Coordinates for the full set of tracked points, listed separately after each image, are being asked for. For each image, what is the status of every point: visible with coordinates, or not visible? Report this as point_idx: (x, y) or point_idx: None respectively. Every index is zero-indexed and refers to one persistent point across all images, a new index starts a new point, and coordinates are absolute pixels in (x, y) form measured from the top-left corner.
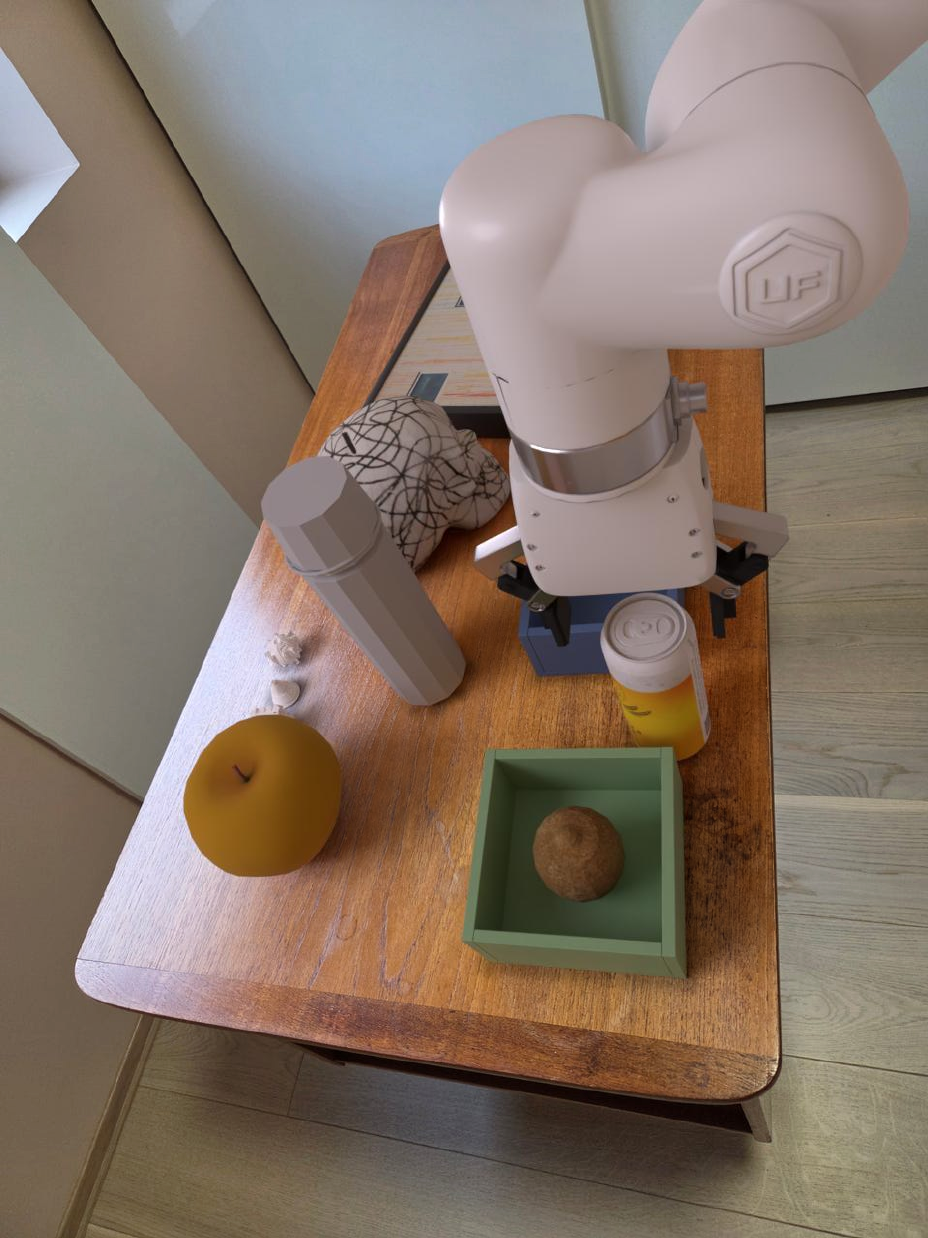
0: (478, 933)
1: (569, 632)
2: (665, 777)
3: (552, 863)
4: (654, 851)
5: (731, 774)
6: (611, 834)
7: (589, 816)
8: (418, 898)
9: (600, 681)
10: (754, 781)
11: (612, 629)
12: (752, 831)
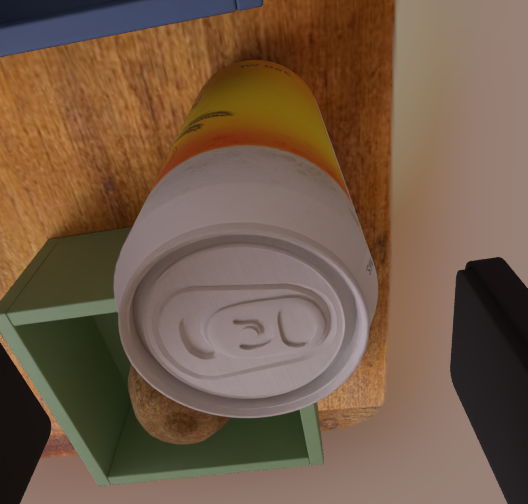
0: (113, 479)
1: (33, 402)
2: None
3: (168, 442)
4: None
5: (350, 178)
6: None
7: None
8: (17, 367)
9: (110, 41)
10: (381, 183)
11: (150, 339)
12: (376, 244)
